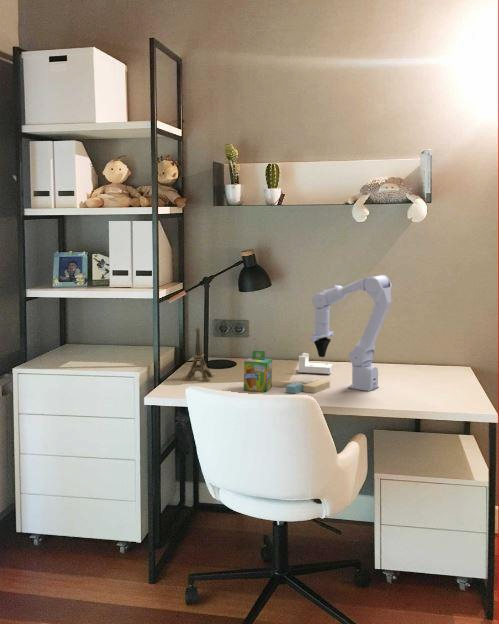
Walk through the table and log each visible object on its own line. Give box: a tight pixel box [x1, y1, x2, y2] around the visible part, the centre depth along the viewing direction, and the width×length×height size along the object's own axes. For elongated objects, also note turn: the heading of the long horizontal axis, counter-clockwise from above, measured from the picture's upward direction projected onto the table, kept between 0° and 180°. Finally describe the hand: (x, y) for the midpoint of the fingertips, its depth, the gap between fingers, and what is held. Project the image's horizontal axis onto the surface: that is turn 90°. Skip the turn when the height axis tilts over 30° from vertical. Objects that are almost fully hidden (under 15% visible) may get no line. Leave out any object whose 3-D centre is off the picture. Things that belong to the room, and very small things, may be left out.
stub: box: [285, 382, 305, 394], centre depth 291 cm, size 4×6×2 cm, turn 143°
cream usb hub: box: [302, 379, 331, 394], centre depth 294 cm, size 5×11×2 cm, turn 143°
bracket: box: [298, 352, 334, 375], centre depth 322 cm, size 13×7×8 cm, turn 73°
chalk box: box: [243, 350, 273, 393], centre depth 294 cm, size 9×9×15 cm
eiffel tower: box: [182, 325, 215, 383], centre depth 312 cm, size 11×11×25 cm
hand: (321, 356), depth 306 cm, fingers closed
